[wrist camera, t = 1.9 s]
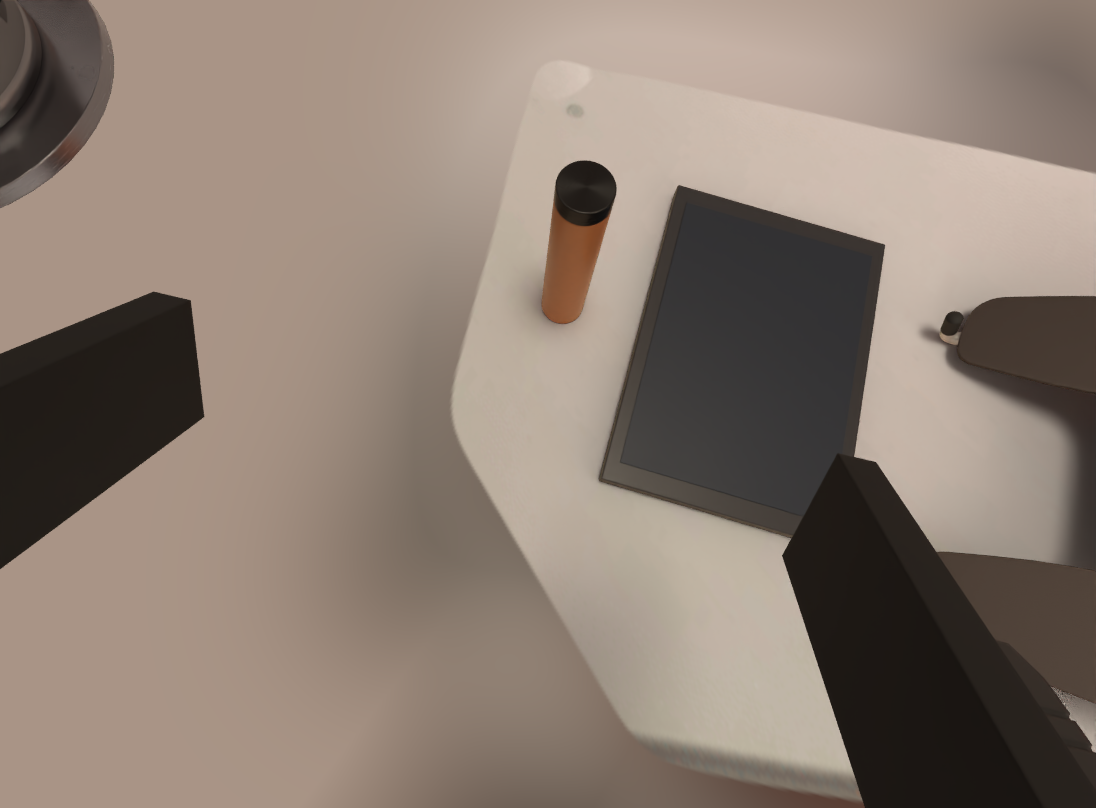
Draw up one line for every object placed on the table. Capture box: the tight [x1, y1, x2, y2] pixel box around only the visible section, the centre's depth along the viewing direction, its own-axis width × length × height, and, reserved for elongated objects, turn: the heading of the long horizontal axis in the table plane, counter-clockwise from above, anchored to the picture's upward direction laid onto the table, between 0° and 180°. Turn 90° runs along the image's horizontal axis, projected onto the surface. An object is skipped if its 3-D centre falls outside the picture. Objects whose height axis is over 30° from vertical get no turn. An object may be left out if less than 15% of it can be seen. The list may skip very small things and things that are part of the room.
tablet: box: [599, 185, 885, 538], centre depth 35 cm, size 14×20×1 cm
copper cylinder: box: [542, 161, 616, 323], centre depth 30 cm, size 3×3×12 cm
